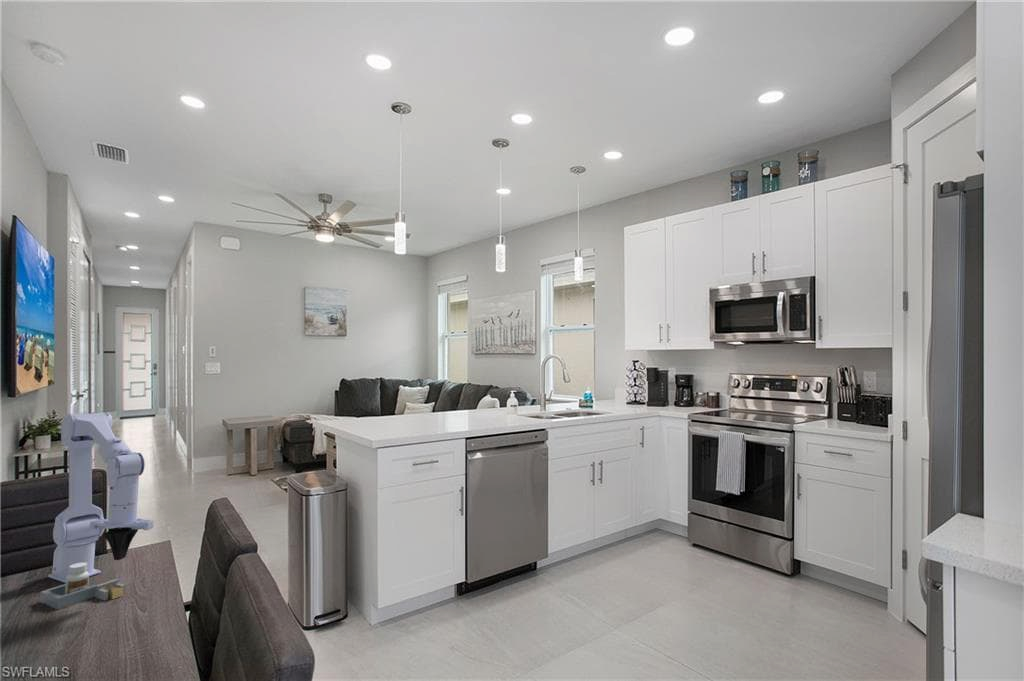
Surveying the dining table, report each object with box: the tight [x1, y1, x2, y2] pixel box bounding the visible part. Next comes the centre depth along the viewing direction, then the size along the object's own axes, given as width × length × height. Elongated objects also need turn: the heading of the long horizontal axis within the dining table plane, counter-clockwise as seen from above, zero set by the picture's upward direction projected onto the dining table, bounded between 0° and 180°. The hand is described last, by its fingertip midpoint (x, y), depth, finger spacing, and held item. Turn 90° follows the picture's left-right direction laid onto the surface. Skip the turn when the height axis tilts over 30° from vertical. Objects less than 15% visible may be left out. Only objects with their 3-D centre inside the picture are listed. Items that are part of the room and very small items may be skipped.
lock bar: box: [102, 585, 124, 600], centre depth 127 cm, size 6×2×2 cm, turn 66°
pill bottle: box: [64, 562, 90, 595], centre depth 126 cm, size 4×4×8 cm
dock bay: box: [39, 578, 126, 610], centre depth 125 cm, size 12×12×3 cm
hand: (119, 558), depth 126 cm, fingers closed
